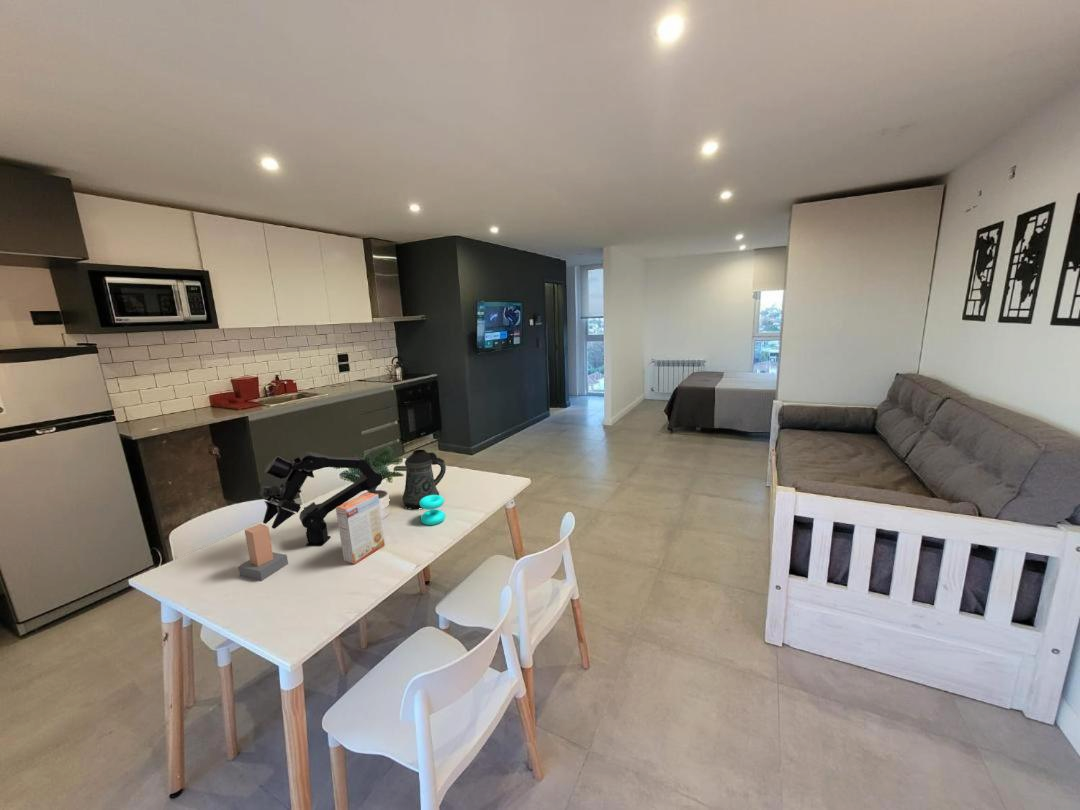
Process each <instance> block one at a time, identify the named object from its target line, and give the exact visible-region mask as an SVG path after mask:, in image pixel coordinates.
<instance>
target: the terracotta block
mask: <svg viewBox="0 0 1080 810" xmlns="http://www.w3.org/2000/svg"><path fill="white" fill-rule="evenodd" d="M269 528H270V527H269V526H267V525H266V524H265V525H264V524H262V523H258V524H256V525H254V526H251V527H248V528H246V529H244V534H245V535H244V536H245V541H246V547H247V553H248V554H247V555H248V560H250V563H252V564H254V565H256V566H260V565H262V564H264V563H266V562H268V561H270V560H272V559H273V553H272V552H273V547H272V540H271V536H270V535H271V534H270V529H269Z"/></svg>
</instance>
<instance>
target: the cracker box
mask: <svg viewBox="0 0 1080 810" xmlns="http://www.w3.org/2000/svg"><path fill="white" fill-rule="evenodd" d="M335 512H336V518H337V524H338V531H339V537H340V538H339V539H340V544H341V549H342V556H343V562H347V563H349V564H352V565H356V564H357V563H360V562H361V561H362V560H364V559H366V558H367V557H368V556H370V555H371V554H373V553H375V552H376V551H378V550H379V549H381V548H382V547H384V546H385V545H386V544H385V535H384V529H383V528H384V527H383V522H382V521H383V520H382V515H381V506H380V499H379V494H378V493H373V492H366V493H363V494H362V495H361V494H360V495H359V496H358V497H355V498H352V499H349V500H348V501H346V502H345V503H343V504H342V505H340V506H338V507H336V508H335Z"/></svg>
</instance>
